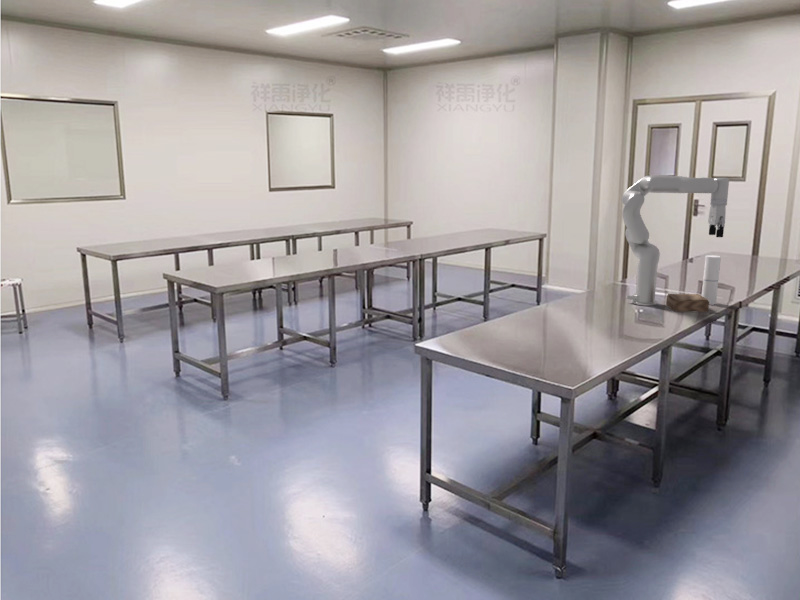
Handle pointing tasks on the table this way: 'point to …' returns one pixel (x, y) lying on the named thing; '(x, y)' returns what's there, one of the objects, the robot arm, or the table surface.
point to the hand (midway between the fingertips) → (715, 236)
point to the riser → (687, 302)
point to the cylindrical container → (711, 278)
